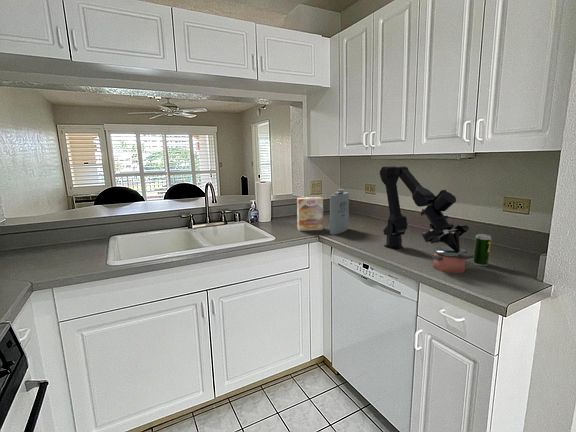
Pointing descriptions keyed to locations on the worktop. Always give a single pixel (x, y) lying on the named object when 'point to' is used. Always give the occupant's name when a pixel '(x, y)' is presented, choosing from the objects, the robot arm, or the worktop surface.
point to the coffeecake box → (310, 213)
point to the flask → (339, 212)
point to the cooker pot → (449, 263)
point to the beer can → (482, 249)
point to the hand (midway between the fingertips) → (458, 251)
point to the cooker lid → (452, 252)
